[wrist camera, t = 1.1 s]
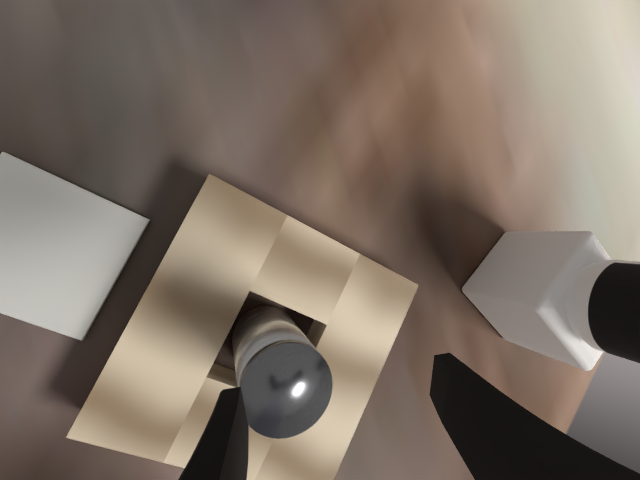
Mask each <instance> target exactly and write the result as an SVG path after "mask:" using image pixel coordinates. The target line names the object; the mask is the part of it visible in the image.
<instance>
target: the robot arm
mask: <svg viewBox="0 0 640 480" xmlns="http://www.w3.org/2000/svg"><path fill="white" fill-rule="evenodd" d="M430 397H431V399H432V401H433V404H434V406H435V408H436V411H437V413H438V415H439V417H440V419H441V422H442V424H443V425H444V427H445V429H446V431H447V432H448V434H449V436H450V438H451V439H452V441H453V443H454V445H455V446H456V448H457V450H458V452H459V453H460V455H461V457H462V458H463V460H464V462H465V463H466V465H467V467H468V469H469V470H470V472H471V474H472V475H473V477H474V479H475V480H640V474H639V473H637V472H635V471H633V470H631V469H629V468H627V467H625V466H623V465H621V464H619V463H617V462H615V461H613V460H611V459H609V458H607V457H605V456H604V455H602V454H600V453H598V452H596V451H594V450H592V449H590V448H589V447H587V446H585V445H583V444H581V443H580V442H578V441H576V440H574V439H573V438H571V437H569V436H568V435H566V434H564V433H563V432H561V431H559V430H558V429H556V428H554V427H553V426H551V425H549V424H548V423H546V422H545V421H543V420H541V419H540V418H538V417H537V416H535V415H534V414H532V413H531V412H529V411H528V410H526V409H525V408H523V407H522V406H520V405H519V404H517V403H516V402H515V401H513V400H512V399H510V398H509V397H508V396H506V395H505V394H503V393H502V392H501V391H499V390H498V389H497V388H495V387H494V386H492V385H491V384H490V383H488V382H487V381H486V380H484V379H483V378H482V377H481V376H479V375H478V374H477V373H475V372H474V371H473V370H471V369H470V368H469V367H468V366H466V365H465V364H464V363H462V362H461V361H460V360H458V359H457V358H456V357H455V356H453V355H452V354H451V353H446V354H439V355H435V356H434V364H433V372H432V380H431V388H430ZM248 456H249V426H248V421H247V416H246V411H245V406H244V401H243V396H242V390H241V387H235V388H229V389H223V390H222V391H221V392H220V394H219V397H218V400H217V402H216V405H215V407H214V410H213V412H212V414H211V417H210V419H209V421H208V423H207V425H206V428H205V430H204V432H203V434H202V436H201V438H200V440H199V442H198V444H197V446H196V448H195V450H194V452H193V454H192V456H191V458H190V460H189V462H188V463H187V465H186V467H185V469H184V471H183V472H182V474H181V476H180V478H179V480H247V470H248Z"/></svg>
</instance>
